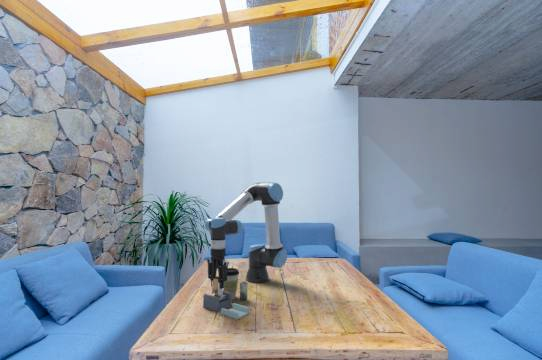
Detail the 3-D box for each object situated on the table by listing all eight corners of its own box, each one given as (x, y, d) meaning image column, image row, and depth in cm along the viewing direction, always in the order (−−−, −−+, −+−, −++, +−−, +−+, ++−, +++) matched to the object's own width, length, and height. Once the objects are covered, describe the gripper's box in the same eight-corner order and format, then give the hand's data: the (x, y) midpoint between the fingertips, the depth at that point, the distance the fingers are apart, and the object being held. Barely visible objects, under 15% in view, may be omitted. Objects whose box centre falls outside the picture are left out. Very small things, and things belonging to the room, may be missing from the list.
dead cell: (243, 298, 172) (243, 280, 173) (248, 299, 170) (248, 281, 170) (238, 300, 169) (238, 282, 169) (244, 301, 167) (244, 283, 167)
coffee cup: (222, 300, 168) (222, 272, 168) (220, 295, 177) (220, 268, 178) (240, 299, 170) (240, 271, 171) (237, 293, 180) (237, 267, 180)
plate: (217, 295, 164) (217, 292, 164) (225, 298, 161) (225, 295, 161) (208, 299, 159) (209, 296, 159) (217, 301, 156) (217, 298, 156)
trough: (233, 308, 157) (233, 303, 157) (249, 313, 151) (249, 307, 151) (221, 314, 150) (221, 308, 150) (237, 319, 144) (237, 313, 144)
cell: (216, 294, 163) (217, 275, 163) (222, 295, 160) (222, 276, 161) (211, 296, 159) (211, 277, 160) (217, 297, 157) (217, 278, 157)
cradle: (217, 301, 167) (217, 289, 167) (231, 305, 161) (231, 292, 162) (203, 307, 159) (203, 294, 159) (217, 311, 153) (217, 298, 153)
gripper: (201, 247, 163) (200, 292, 162) (225, 250, 153) (224, 299, 152) (211, 245, 169) (210, 289, 168) (235, 248, 159) (234, 295, 158)
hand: (217, 293), depth 160 cm, fingers closed on cell, 4 cm apart
